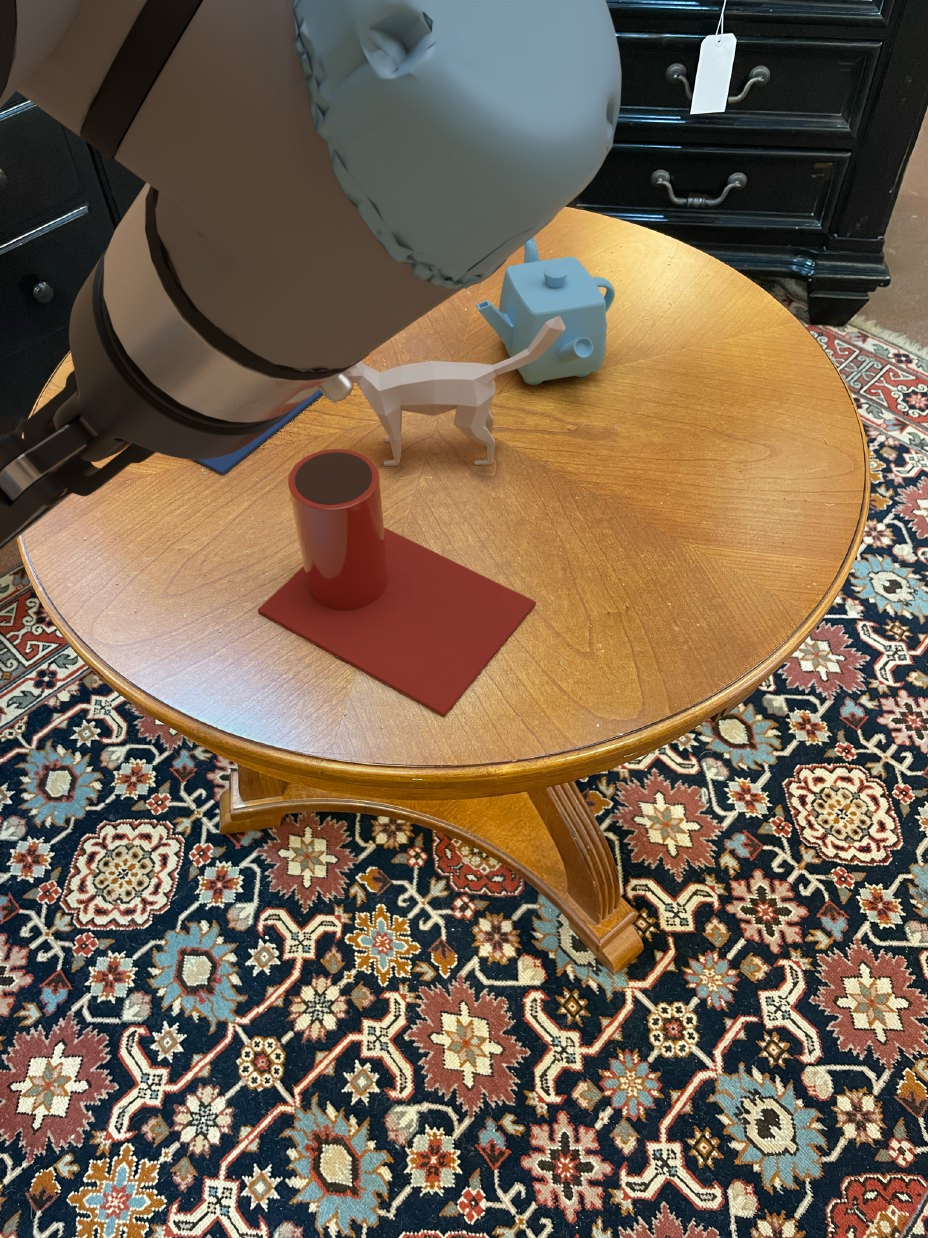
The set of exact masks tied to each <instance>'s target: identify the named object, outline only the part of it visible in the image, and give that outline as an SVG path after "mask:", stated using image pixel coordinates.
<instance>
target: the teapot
mask: <svg viewBox="0 0 928 1238" xmlns="http://www.w3.org/2000/svg"><path fill="white" fill-rule="evenodd" d="M523 248H524V249H523V250H524V251H523V252H524V254H523V255H524V256H523V263H519V264H513V265H508V266H507V267H506V268H505V272H504V277H503V280H502V281H503V282H502V286H501V292H500V298H499V304H498V305H499V306H498V308H497V307H496V306H495V305H494V304H493V303H491V301H490V300H489V299H485V300H484V301H481V302H478V303H476V304H475V306H476V308H477V310H478V312H479V314H481V316H482V317H483V318H484V320H485V321H486V322H487V323H488V324H489V325H490V326H491V328H492V329H493V330H494V332H495V333H496V334H497V335H498V336H499V338H500V339H501V341H502V342H503V345H504V347H505V350H506V352H507V354H508V356H509V358H511V357H513V356H515V355H517V354H518V353H520V352H522V351H524V350H525V349H527V348H528V347H529V346H530V345H531V343H532V342H533V340H534V339H535V337H536V336H537V335H538V333H539V332H540V330H541V328H542V327H543V325H544V324H545V322H547V321H549V320H551V319H553V318H556V317H558V316H560V318H561V319H562V321H563V323H564V325H565V327H566V328H565V330H564V331H563V332H562V333H561V335H560V336H559V337H558V338H557V339H556V340H555V341H554V343H553V344H552V345H551V346H550V347H549V348H548V349H547V350H546V351H545V352H544V353H543V354H542V355H541V356H540V357H539V358H538V359H536V360H534V361H532V362H530V363H528V364H526V365H524V366H522V367H520V368H517V369H516V370H517V371H518V372H519V373H520V375H521V377H522V380H523V381H524V383H526V385H527V384H528V385H531V386H537V385H541V384H542V383H543V382H544V381H550V380H558V379H563V378H569V377H574V376H575V377H577V378H582V377H586V376H588V375H589V374H590V373H594V372H598V371H600V370H601V368H602V366H603V363H604V360H605V355H606V347H607V346H606V345H607V330H608V322H607V312H608V311H609V310H610V308H611V306H612V304H613V302H614V300H615V296H616V290H615V287H614V285H613V284H612V283H611V281H609V280H608V279H607V278H605V277H601V276H594V277H592V275H591V274H590V272H589V271H588V269H586V267H584V265H583V264H582V263H581V262H580V261H579V260H578V259H577V258H576V257H575V256H566V257H558V258H552V259H551V258H550V259H544V260H543V259H542V260H540V255H539V251H538V246H537V242H536V239H535V236H533V237H532V238H531V239H530V240H529V241H528V242H526V243H525V244H524V245H523ZM600 288H605V290H606V291H605V294H604V295H603V293H602V292H601V289H600Z"/></svg>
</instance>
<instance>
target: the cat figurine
mask: <svg viewBox="0 0 928 1238" xmlns="http://www.w3.org/2000/svg"><path fill="white" fill-rule="evenodd" d="M565 328H566V327H565V325H564V323H563V321H562V319H561V318H560V316H558V317H556V318H553V319H551V320H549V321H547V322H545V324H544V325H543V327H542V328H541V330H540V332H539V333H538V335H537V336H536V337H535V339H534V340H533V342H532V343H531V345H530V346H529V347H528V348H527V349H525V350H524V351H522V352H520V353H518V354H517V355H515V356H513V357H511V358H510V357H509V358H506V359H504V360H501V361H499V362H497V363H494V364H488V363H480V362H474V361H473V362H468V361H467V362H465V361H464V362H463V361H459V362H457V361H442V360H428V361H421V362H415V363H414V362H413V363H408V364H402V365H399V366H395V367H392V368H388V369H385V370H381V371H378V370H377V369H375V368H372V367H371V366H368V365H366V364H365V363H363V361H362V360H361V361H360V362H358V363H357V364H356V365H354V366H352V367H350V368H349V369H348V370H346V371H345V373H346V374H347V375H348V376H349V377H350V378H351V380H352V382H353V384H357V385H358V387H359V389H360V390H361V392H362V393H363V396H364V397H365V399H366V400H367V403H368V404H369V406H370V407H371V408H372V410H373V411H374V412H375V415H376V416H377V418H378V420H379V421H380V423H381V425H382V427H383V429H384V431H385V432H386V435H387V437H384V443H390V447H391V451H392V454H393V458H394V459H390V460H384V461H383V466H384V467H392V466H393V467H394V466H396V467H397V466H400V463H401V462H400V461H401V457H402V456H401V455H402V438H403V437H402V421H403V420H402V418H403V412H408V413H414V414H420V415H426V416H432V417H435V416H439V415H441V414H444V413H447V412H451V411H454V410H455V416H454V421H453V425H454V426H455V427H456V428H457V429H458V430H459V431H460V432H461V433H463V434H464V435H465V436H466V438H468V439H470V440H472V441H474V442H477V443H479V444H481V445H483V446H486V451H487V459H483V460H482V459H480V460H479V459H478V460H474V461H473V464H474V466H488V465H489V466H491V465H492V464H493V462H494V459H495V452H496V439H495V438H494V436H493V435H492V434H493V428H494V423H495V422H494V416H493V415H492V413H491V411H490V410H491V407H492V405H493V401H494V398H495V396H496V383H495V378H496V377H497V376H500V375H502V374H506V373H508V372H511V371H514V370H518V369H517V368H520V367H522V366H524V365H526V364H528V363H530V362H532V361H534V360H536V359H538V358H539V357H540V356H541V355H542V354H543V353H544V352H545V351H546V350H547V349H548V348H549V347H550V346H551V345H552V344H553V343H554V341H555V340H556V339H557V338H558V337H559V336H560V335H561V333H562V332H563V331H564V330H565Z"/></svg>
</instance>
